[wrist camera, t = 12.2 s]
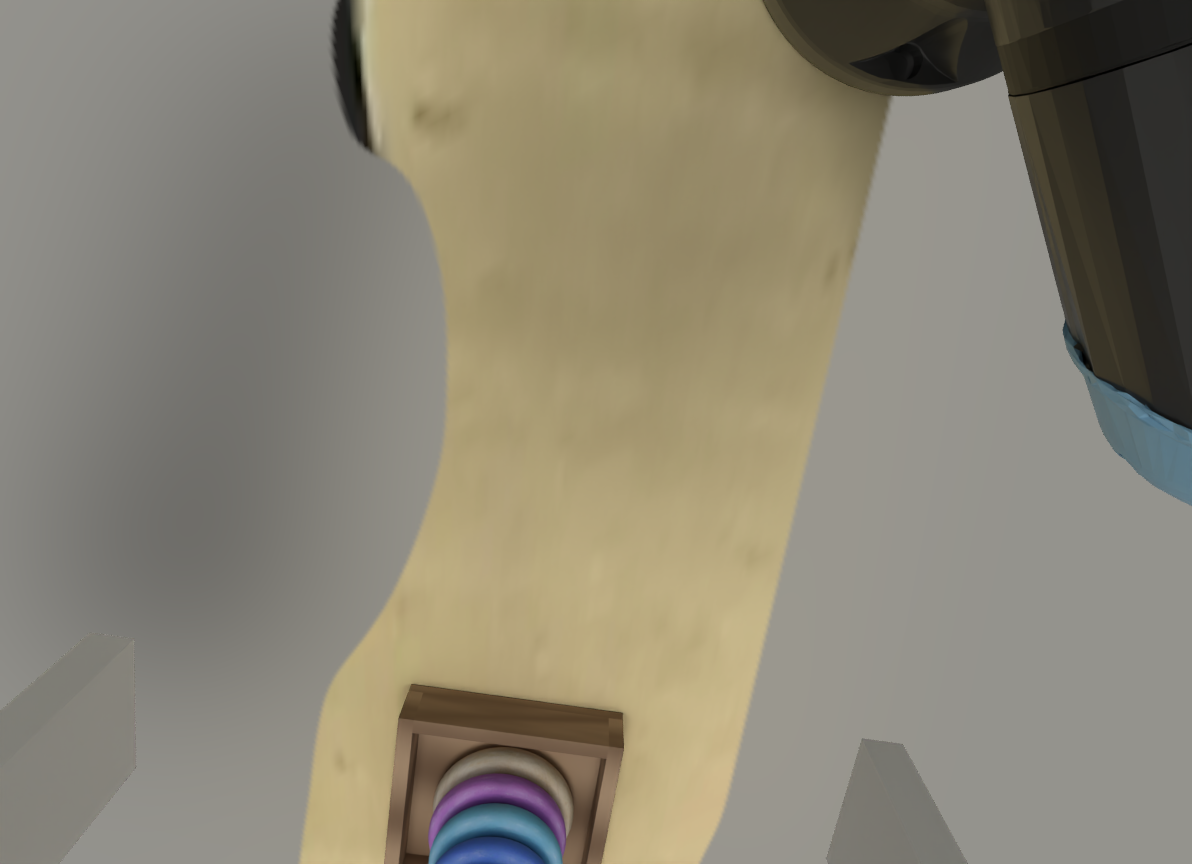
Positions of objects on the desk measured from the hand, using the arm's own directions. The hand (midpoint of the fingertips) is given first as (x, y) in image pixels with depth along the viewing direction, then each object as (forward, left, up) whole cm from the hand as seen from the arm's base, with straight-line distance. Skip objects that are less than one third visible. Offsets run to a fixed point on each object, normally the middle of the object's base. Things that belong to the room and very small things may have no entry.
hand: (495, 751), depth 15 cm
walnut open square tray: (+17, +17, -27) cm, 36 cm away
